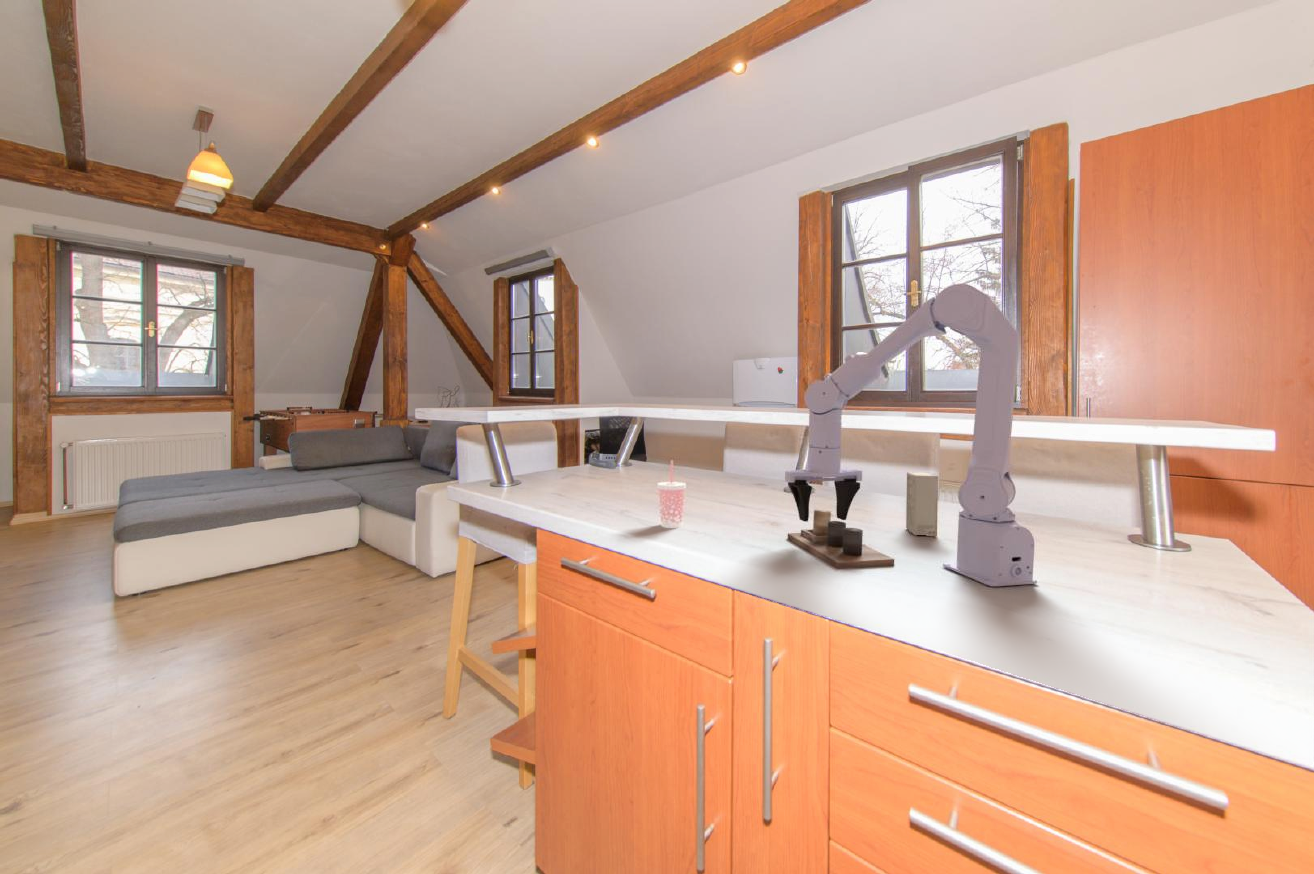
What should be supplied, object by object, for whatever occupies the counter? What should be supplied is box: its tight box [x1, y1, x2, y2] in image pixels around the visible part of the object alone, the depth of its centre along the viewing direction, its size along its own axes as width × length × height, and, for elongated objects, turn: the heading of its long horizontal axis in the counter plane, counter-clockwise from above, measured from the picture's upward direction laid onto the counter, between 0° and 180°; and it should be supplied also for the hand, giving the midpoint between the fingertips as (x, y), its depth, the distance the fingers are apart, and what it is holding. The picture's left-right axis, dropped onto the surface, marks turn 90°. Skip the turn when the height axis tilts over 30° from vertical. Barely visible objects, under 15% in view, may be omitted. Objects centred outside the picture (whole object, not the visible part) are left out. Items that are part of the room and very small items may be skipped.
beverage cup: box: [656, 459, 687, 529], centre depth 106 cm, size 6×6×14 cm
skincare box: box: [905, 471, 939, 537], centre depth 101 cm, size 6×4×12 cm
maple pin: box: [812, 508, 832, 536], centre depth 93 cm, size 3×3×5 cm
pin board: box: [787, 520, 895, 569], centre depth 88 cm, size 18×10×5 cm, turn 11°
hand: (822, 519), depth 93 cm, fingers open, 7 cm apart
